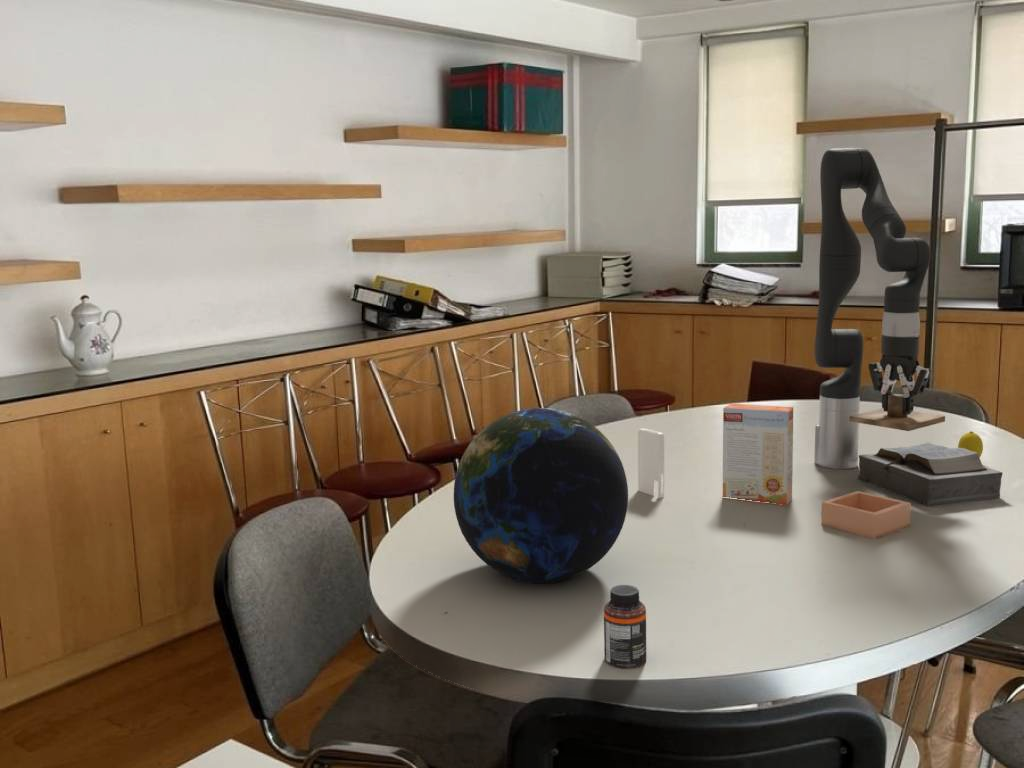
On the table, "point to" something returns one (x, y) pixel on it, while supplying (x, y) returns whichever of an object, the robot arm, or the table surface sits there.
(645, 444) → the phone case
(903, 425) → the lid
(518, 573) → the globe
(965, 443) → the lemon
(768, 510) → the table surface
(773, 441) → the cracker box
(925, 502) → the bible
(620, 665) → the supplement bottle
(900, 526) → the dish
